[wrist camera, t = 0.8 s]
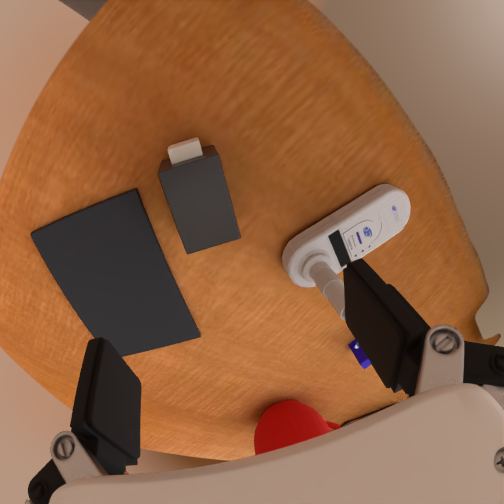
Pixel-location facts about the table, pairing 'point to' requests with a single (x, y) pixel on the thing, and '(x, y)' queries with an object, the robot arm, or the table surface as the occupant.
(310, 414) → the ceramic cup
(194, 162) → the block
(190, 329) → the desk mat
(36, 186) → the table surface
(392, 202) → the electronic device
